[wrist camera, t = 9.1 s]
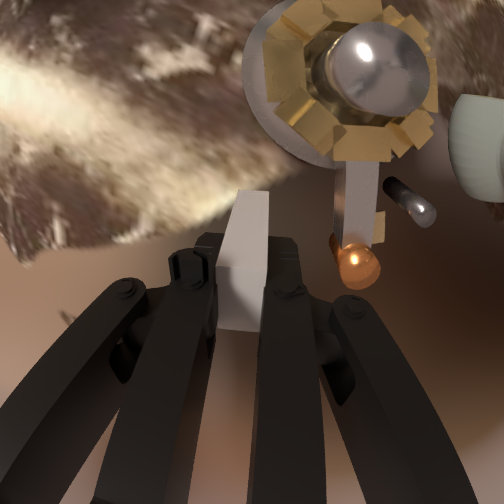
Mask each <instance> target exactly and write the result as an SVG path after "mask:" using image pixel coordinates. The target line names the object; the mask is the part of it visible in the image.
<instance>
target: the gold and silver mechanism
mask: <svg viewBox="0 0 504 504" xmlns="http://www.w3.org/2000/svg"><path fill="white" fill-rule="evenodd" d="M296 1H297V0H285V1H283V2H281V3H279V4H277V5H276V6H274V7H273V8H272V9H270V10H269V11H268V12H267V13H266V14H265V15H264V16H263V17H262V18H261V19H260V20H259V21H258V22H257V24H256V25H255V27H254V28H253V29H252V31H251V33H250V35H249V37H248V39H247V42H246V45H245V48H244V52H243V58H242V81H243V87H244V91H245V94H246V98H247V101H248V103H249V105H250V108H251V110H252V112H253V114H254V115H255V117H256V119H257V120H258V122H259V124H260V125H261V126H262V127H263V129H264V130H265V131H266V132H267V134H268V135H269V136H270V137H271V138H272V139H273V140H274V141H275V142H276V143H278V144H279V145H280V146H281V147H283V148H284V149H285V150H286V151H288V152H290V153H291V154H293V155H294V156H296V157H298V158H300V159H302V160H304V161H306V162H308V163H311V164H314V165H317V166H320V167H324V168H329V169H334V170H335V161H333V160H332V159H331V158H330V157H329V156H328V155H327V154H325V155H324V156H322V155H321V154H320V153H319V152H317V151H316V150H315V149H314V148H313V147H312V146H311V145H310V144H309V143H308V142H307V141H306V140H304V139H303V138H302V137H301V136H300V135H299V134H298V133H297V132H295V131H294V130H293V129H292V128H291V127H290V126H289V125H287V124H286V123H285V122H284V121H283V120H281V119H280V118H279V117H278V116H277V115H275V114H274V113H273V112H272V111H273V110H274V109H275V108H276V107H277V106H278V105H279V104H280V103H281V102H270V103H268V102H267V94H266V83H265V73H264V63H263V53H262V41H265V39H266V30H267V29H268V28H269V27H271V26H272V25H273V24H274V23H275V22H276V21H277V20H278V19H279V18H280V17H281V14H282V13H283V12H284V11H285V10H287V9H288V8H289V7H290V6H291V5H292V4H294V3H295V2H296ZM303 52H304V62H305V73H306V85H307V93H308V94H309V95H311V96H312V97H313V98H314V99H315V100H318V101H319V102H320V103H321V104H322V105H323V106H324V107H325V108H326V109H327V110H328V111H329V112H331V113H332V114H333V115H334V116H335V117H336V118H337V119H338V120H339V121H348V122H369V121H370V120H371V119H372V118H373V117H374V116H375V115H376V114H380V115H385V116H392V117H397V116H403V115H407V114H409V113H411V112H413V111H415V110H416V109H417V108H418V107H419V106H420V105H421V104H422V103H423V101H424V100H425V98H426V96H427V94H428V90H429V85H430V72H429V67H428V64H427V61H426V58H425V56H424V54H423V52H422V51H421V49H420V47H419V46H418V45H417V43H416V42H415V41H414V40H413V39H412V38H411V37H410V36H409V35H408V34H406V33H405V32H404V31H402V30H400V29H399V28H397V27H395V26H392V25H390V24H387V23H382V22H366V23H362V24H359V25H357V26H355V27H354V28H352V29H351V30H349V31H348V32H346V33H342V32H330V31H323V32H322V33H321V34H320V35H319V36H317V37H316V38H315V39H314V40H313V41H312V42H311V43H310V44H309V45H308V46H307V47H306V48H304V49H303ZM393 157H395V156H394V155H392V154H391V159H392V158H393ZM382 163H384V162H379V165H380V164H382ZM383 190H384V192H385V193H386V194H387V195H388V196H389V197H390V198H391V199H393V200H394V201H395V202H396V203H397V204H398V205H399V206H400V207H401V208H402V209H403V210H404V211H405V212H406V213H407V214H408V215H409V216H410V217H411V218H412V219H413V220H414V221H415V222H416V223H417V224H418V225H419V226H420V227H423V228H426V227H429V226H431V225H432V224H433V223H434V221H435V219H436V210H435V208H434V207H433V206H432V205H431V204H429V203H428V202H427V201H426V200H425V199H423V198H422V197H421V196H419V195H418V194H417V193H416V192H414V191H413V190H411V189H410V188H409V187H408V186H406V185H405V184H403V183H402V182H401V181H400V180H398V179H397V178H395V177H388V178H386V179H385V181H384V182H383ZM384 232H385V211H384V210H382V211H376V212H375V221H374V230H373V237H372V244H375V243H381V242H384V234H385V233H384Z"/></svg>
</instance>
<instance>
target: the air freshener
mask: <svg viewBox="0 0 504 504" xmlns="http://www.w3.org/2000/svg"><path fill="white" fill-rule="evenodd" d="M448 149H449V155H450V161H451V164H452V168H453V171H454V173H455V176H456V178H457V180H458V182H459V184H460V185H461V187H462V189H463V190H464V191H465V192H466V193H467V195H469V196H471V197H472V198H475V199H478V200H482V201H487V202H499V203H500V202H504V99H499V98H493V97H487V96H479V95H470V94H461V96H460V97H459V99H458V100H457V102H456V104H455V106H454V108H453V111H452V114H451V117H450V122H449V128H448Z"/></svg>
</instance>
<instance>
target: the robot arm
mask: <svg viewBox="0 0 504 504" xmlns="http://www.w3.org/2000/svg"><path fill="white" fill-rule="evenodd" d="M268 207H269V192H267V191H254V190H238V193H237V197H236V200H235V203H234V206H233V209H232V213H231V216H230V219H229V222H228V226H227V229H226V232H225V234H223V233H209V232H205V233H204V234H203V235H202V236H200V237H199V238H198V239H197V242H196V244H195V247H194V248H186V249H182V250H178V251H176V252H175V253H173V254H172V255H171V256H170V257H169V258H168V261H169V268H170V275H171V282H170V285H167V286H164V287H159V288H151V289H146V286H145V284H144V283H143V281H141V280H139V279H137V278H123V279H120V280H117V281H115V282H114V283H112V284H111V285H110V286H109V287H108V288H107V289H106V290H104V291H103V292H102V293H101V294H100V295H99V296H98V297H97V298H96V299H95V300H94V301H93V302H92V303H91V305H89V306H88V307H87V309H85V310H84V311H83V313H82V314H81V315H80V316H79V317H78V318H77V319H76V320H75V321H74V322H73V323H72V324H71V325H70V326H69V327H68V328H67V330H65V331H64V333H63V334H62V335H61V336H60V337H59V338H58V339H57V340H56V341H55V342H54V343H53V345H52V346H51V347H50V348H49V349H48V350H47V351H46V352H45V354H44V355H43V356H42V357H41V358H40V359H39V361H38V362H37V363H36V364H35V365H34V366H33V367H32V369H31V370H30V371H29V372H28V374H27V375H26V376H25V377H24V378H23V380H22V381H21V382H20V383H19V385H18V386H17V387H16V388H15V390H14V391H13V392H12V393H11V395H10V396H9V397H8V398H7V400H6V401H5V402H4V404H3V405H2V407H1V408H0V504H59V503H60V501H61V499H62V498H63V496H64V494H65V493H66V491H67V490H68V488H69V486H70V485H71V483H72V481H73V480H74V478H75V477H76V475H77V473H78V472H79V470H80V469H81V467H82V465H83V464H84V462H85V461H86V459H87V458H88V456H89V454H90V453H91V451H92V450H93V448H94V447H95V445H96V444H97V442H98V440H99V439H100V437H101V435H102V434H103V433H104V431H105V430H106V428H107V427H108V425H109V424H110V422H111V420H112V419H113V417H114V416H115V414H116V413H117V411H118V410H119V412H118V415H117V418H116V422H115V424H114V427H113V430H112V433H111V437H110V440H109V443H108V446H107V449H106V453H105V456H104V460H103V463H102V466H101V470H100V473H99V477H98V481H97V485H96V488H95V492H94V496H93V499H92V501H91V502H90V504H187V502H188V496H189V489H190V483H191V477H192V471H193V464H194V459H195V453H196V447H197V441H198V435H199V430H200V424H201V418H202V412H203V407H204V402H205V396H206V390H207V385H208V380H209V375H210V369H211V364H212V359H213V353H214V348H215V343H216V334H215V331H216V326H217V321H218V328H220V329H230V330H240V331H252V332H260V334H259V344H258V352H257V357H258V358H257V373H256V387H255V402H254V417H253V430H252V443H251V455H250V456H251V457H250V468H249V480H248V492H247V503H246V504H327V503H326V502H327V500H326V469H325V468H326V467H325V449H324V448H325V447H324V433H323V418H322V405H321V395H320V384H319V378H320V381H321V383H322V386H323V388H324V391H325V393H326V396H327V399H328V401H329V404H330V406H331V409H332V412H333V414H334V417H335V420H336V422H337V425H338V427H339V430H340V433H341V436H342V438H343V441H344V443H345V446H346V449H347V451H348V454H349V457H350V460H351V462H352V465H353V468H354V470H355V473H356V475H357V479H358V481H359V484H360V487H361V490H362V492H363V495H364V498H365V501H366V504H478V501H477V498H476V496H475V493H474V491H473V488H472V486H471V483H470V481H469V479H468V476H467V474H466V472H465V470H464V467H463V465H462V463H461V461H460V459H459V456H458V454H457V452H456V450H455V448H454V446H453V444H452V442H451V440H450V438H449V436H448V434H447V432H446V430H445V428H444V426H443V424H442V422H441V420H440V418H439V416H438V414H437V413H436V411H435V409H434V407H433V405H432V403H431V402H430V400H429V398H428V396H427V394H426V392H425V391H424V389H423V387H422V385H421V384H420V382H419V380H418V379H417V377H416V375H415V374H414V372H413V370H412V368H411V367H410V365H409V364H408V362H407V360H406V358H405V357H404V355H403V353H402V352H401V350H400V349H399V347H398V346H397V344H396V342H395V341H394V339H393V337H392V336H391V335H390V333H389V331H388V330H387V328H386V327H385V325H384V324H383V322H382V321H381V319H380V317H379V316H378V314H377V313H376V311H375V310H374V308H373V307H372V306H371V305H370V304H369V303H368V302H367V301H366V300H364V299H362V298H361V297H357V296H354V295H344V296H340V297H338V298H337V299H336V300H335V301H334V303H329V302H326V301H322V300H320V299H317V298H315V297H313V296H312V295H310V294H309V293H308V290H307V288H306V286H305V285H304V284H303V283H302V276H301V268H300V261H299V255H298V248H297V244H296V243H295V242H294V241H293V240H292V238H285V237H273V236H268V209H269V208H268ZM119 408H120V409H119Z"/></svg>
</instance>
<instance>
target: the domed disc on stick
mask: <svg viewBox="0 0 504 504" xmlns="http://www.w3.org/2000/svg"><path fill="white" fill-rule="evenodd" d="M366 22H382V23H387V24H390V25H392V26H395V27H397V28H399V29H400V30H402V31H404V32H405V33H406V34H408V35H409V36H410V37H411V38H412V39H413V40H414V41H415V42H416V43H417V45H418V46H419V47H420V49H421V51H422V52H423V54H424V56H425V55H426V54H427V53H428V52H429V51H430V50H431V48H430V47H429V46H428V45H427V43H426V42H425V41H424V39H425V38H426V37H427V36H428V35H429V33H428V32H427V31H426V30H425V29H424V28H423V26H422V25H421V24H420V23H419V22H418V21H417V20H416V19H415V18H414V16H413V15H412V14H410V15H408V16H406V17H403V16H402V15H401V14H400V13H399V12H398V11H397V10H396V9H395V8H394V7H393V6H391V5H389V6H387V7H386V8H384V9H382V4H381V0H297V1H296V2H295V3H294V4H292V5H291V6H290V7H289V8H288V9H287V10H285V11H284V12H283V13H282V14H281V17H280V18H279V19H278V20H277V21H276V22H275V23H274V24H273V25H272V26H271V27H269V28H268V29H267V30H266V39H265V41H262V53H263V63H264V73H265V83H266V94H267V102H268V103H270V102H281V103H280V104H279V105H278V106H277V107H276V108H275V109H274V110H273V111H272V112H273V113H274V114H275V115H277V116H278V117H279V118H280V119H281V120H283V121H284V122H285V123H286V124H287V125H289V126H290V127H291V128H292V129H293V130H294V131H295V132H297V133H298V134H299V135H300V136H301V137H302V138H303V139H304V140H306V141H307V142H308V143H309V144H310V145H311V146H312V147H313V148H314V149H315V150H316V151H317V152H319V153H320V154H321V155H322V156H324V155H325V154H327V155H328V156H329V157H330V158H331V159H332V160H333V161H335V199H334V225H333V233H332V234H331V236H330V238H329V247H330V249H331V252H332V254H333V257H334V260H335V262H336V264H337V268H338V270H339V273H340V276H341V278H342V281H343V283H344V285H345V286H346V287H348V288H350V289H354V290H360V289H364V288H367V287H369V286H370V285H372V284H373V283H374V282H375V281H376V280H377V278H378V277H379V274H380V269H381V267H380V263H379V262H378V260H377V258H376V257H375V255H374V253H373V252H372V250H371V245H372V237H373V230H374V221H375V212H376V202H377V190H378V177H379V162H391V154H392V155H394V156H396V157H398V158H400V157H401V156H402V155H403V154H404V153H405V152H406V151H407V150H408V149H409V148H410V147H412V148H415V149H417V150H419V149H420V148H421V147H422V146H423V145H424V144H425V143H426V142H427V141H428V140H429V139H430V138H431V137H432V136H433V135H434V133H433V132H432V130H431V129H430V126H431V125H432V124H433V123H434V120H433V119H432V117H431V116H430V115H429V113H428V112H427V111H429V112H434V113H438V89H437V70H436V59H433V58H430V57H426V56H425V58H426V61H427V64H428V67H429V72H430V85H429V90H428V94H427V96H426V98H425V100H424V101H423V103H422V104H421V105H420V106H419V107H418V108H417V109H416V110H415V111H413V112H411V113H409V114H407V115H403V116H397V117H392V116H385V115H380V114H376V115H375V116H374V117H373V118H372V119H371V120H370V121H369V122H348V121H339V120H338V119H337V118H336V117H335V116H334V115H333V114H332V113H331V112H329V111H328V110H327V109H326V108H325V107H324V106H323V105H322V104H321V103H320V102H319V101H318V100H315V99H314V98H313V97H312V96H311V95H309V94H308V93H307V85H306V73H305V62H304V52H303V49H304V48H306V47H307V46H308V45H309V44H310V43H311V42H312V41H313V40H314V39H315V38H316V37H317V36H319V35H320V34H321V33H322V32H323V31H330V32H342V33H346V32H348V31H349V30H351V29H352V28H354V27H355V26H357V25H359V24H362V23H366Z"/></svg>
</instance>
